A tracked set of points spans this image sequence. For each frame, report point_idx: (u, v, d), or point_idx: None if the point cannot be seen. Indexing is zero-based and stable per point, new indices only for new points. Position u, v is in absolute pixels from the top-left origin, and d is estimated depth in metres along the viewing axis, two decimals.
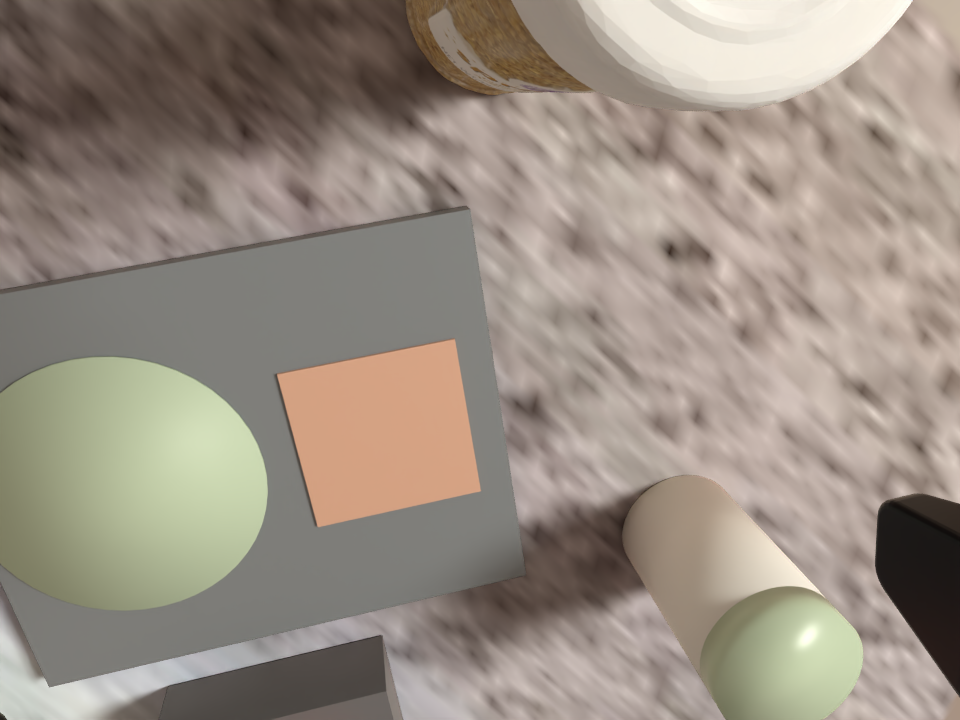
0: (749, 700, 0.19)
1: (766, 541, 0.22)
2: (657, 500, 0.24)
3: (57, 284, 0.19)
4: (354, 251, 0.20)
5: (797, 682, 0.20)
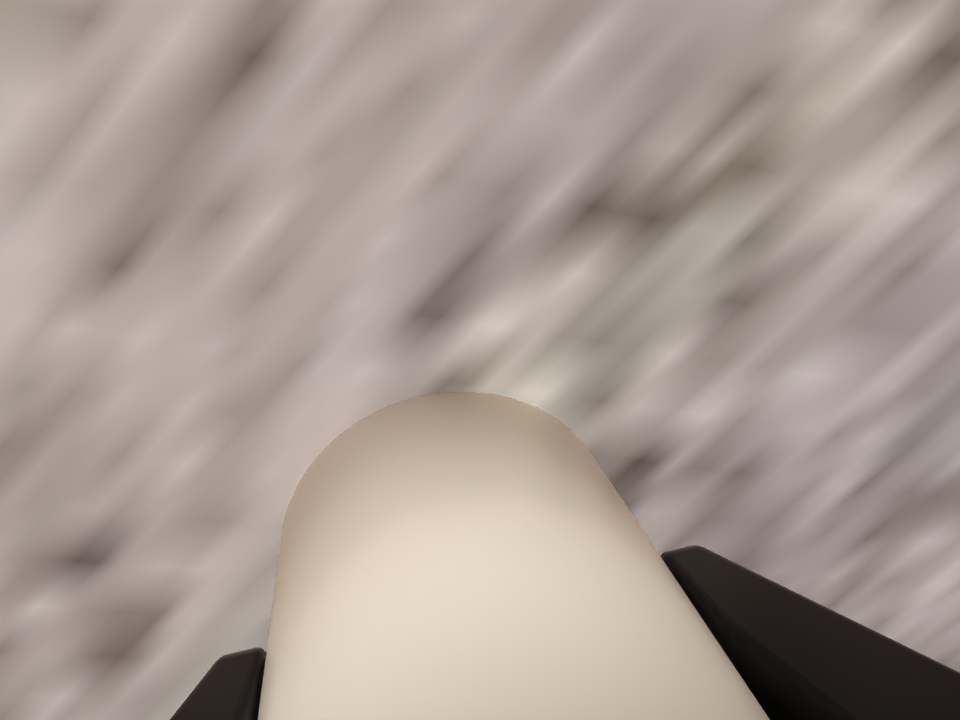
0: None
1: None
2: None
3: None
4: None
5: None
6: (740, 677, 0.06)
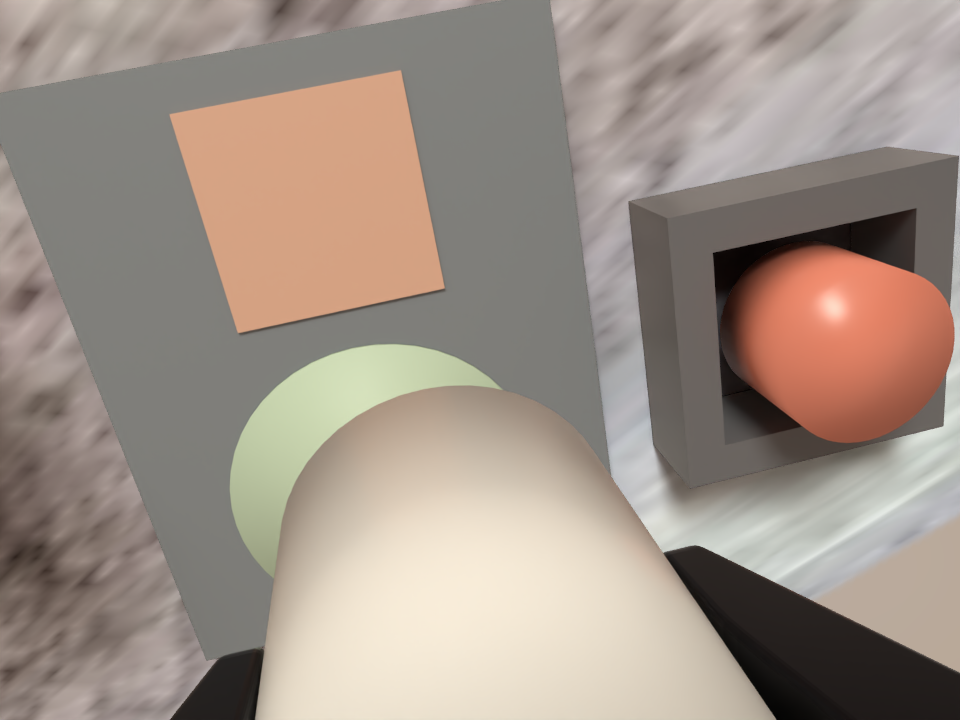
0: None
1: None
2: None
3: (156, 531, 0.20)
4: (68, 244, 0.17)
5: None
6: (740, 668, 0.05)
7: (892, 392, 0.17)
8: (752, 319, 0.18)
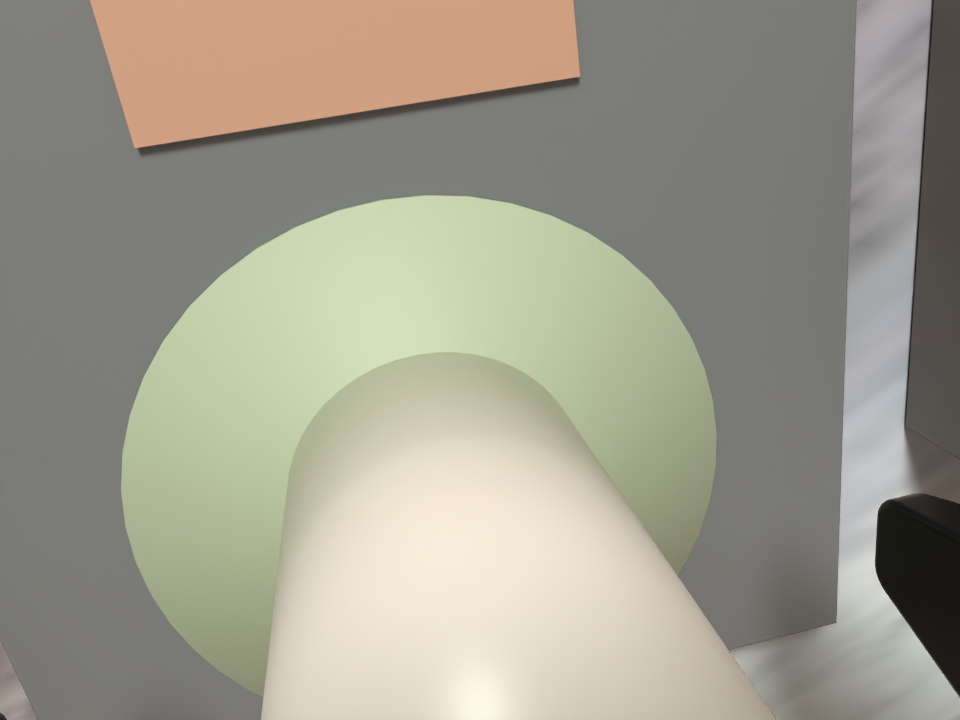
0: None
1: (279, 646, 0.06)
2: None
3: None
4: None
5: None
6: (674, 572, 0.07)
7: None
8: None
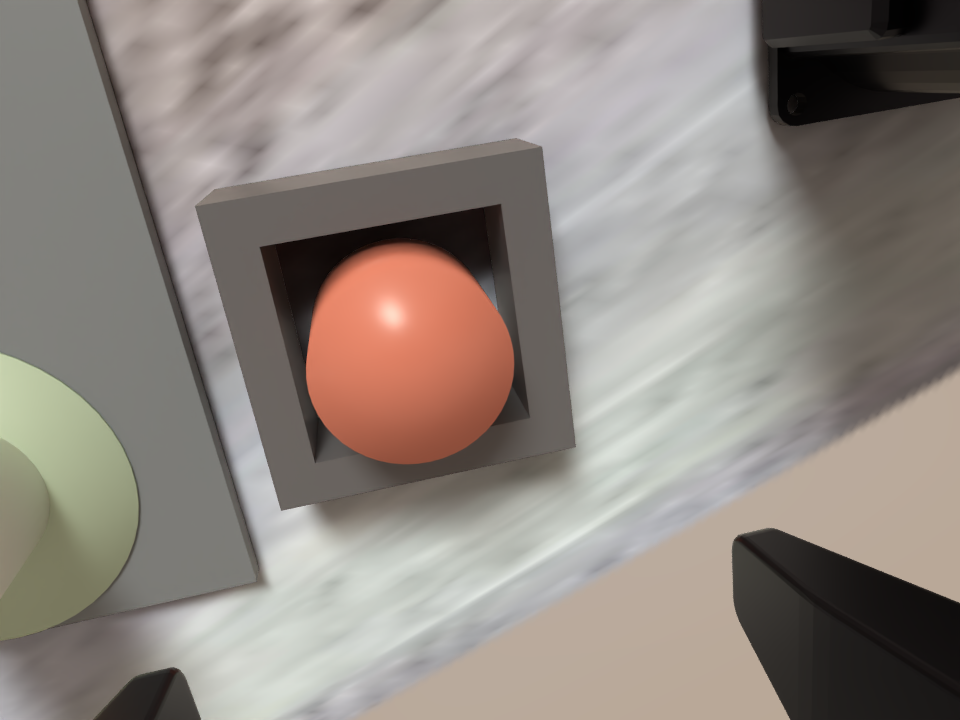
0: None
1: None
2: None
3: None
4: None
5: None
6: None
7: (449, 409, 0.15)
8: (311, 323, 0.16)
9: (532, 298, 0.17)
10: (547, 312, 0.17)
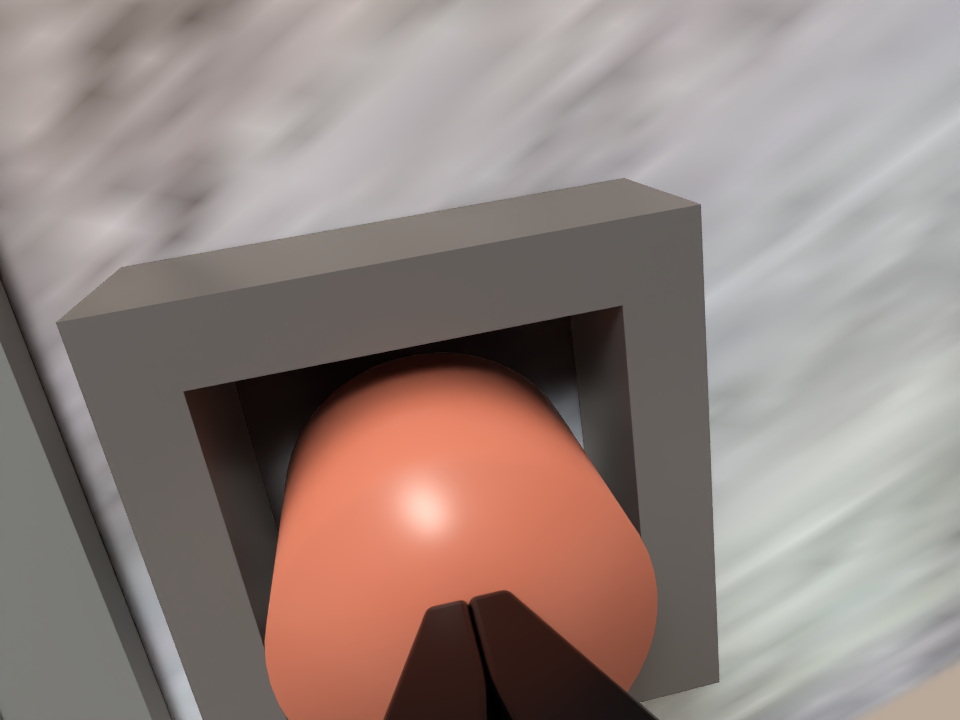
0: None
1: None
2: None
3: None
4: None
5: None
6: None
7: None
8: (281, 519, 0.09)
9: (667, 461, 0.10)
10: (689, 481, 0.10)
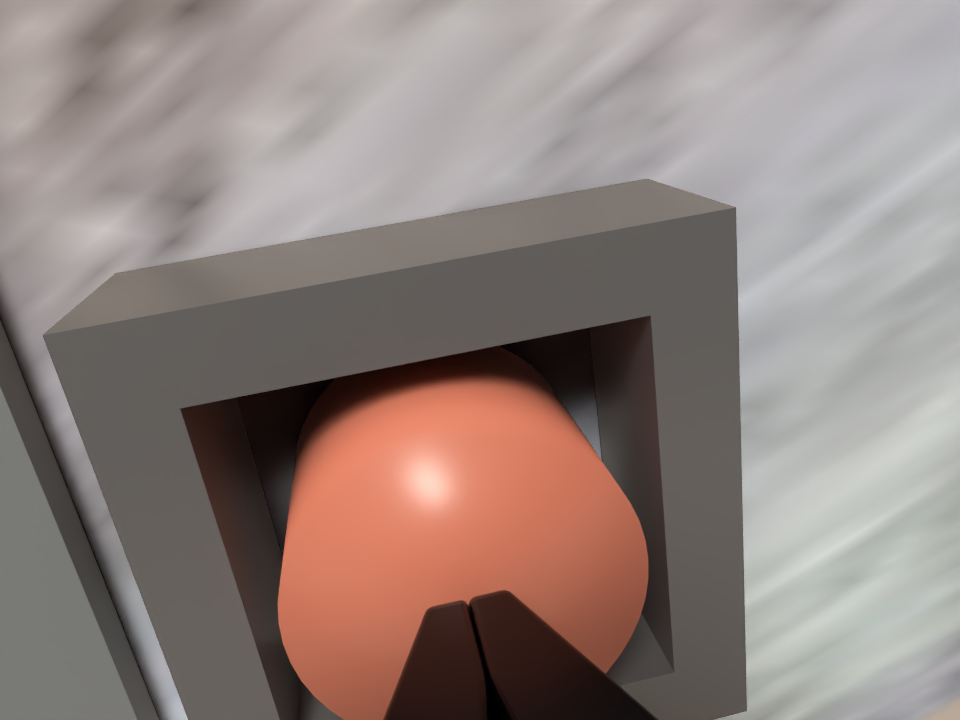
0: None
1: None
2: None
3: None
4: None
5: None
6: None
7: None
8: (292, 492, 0.09)
9: (695, 480, 0.09)
10: (719, 501, 0.09)
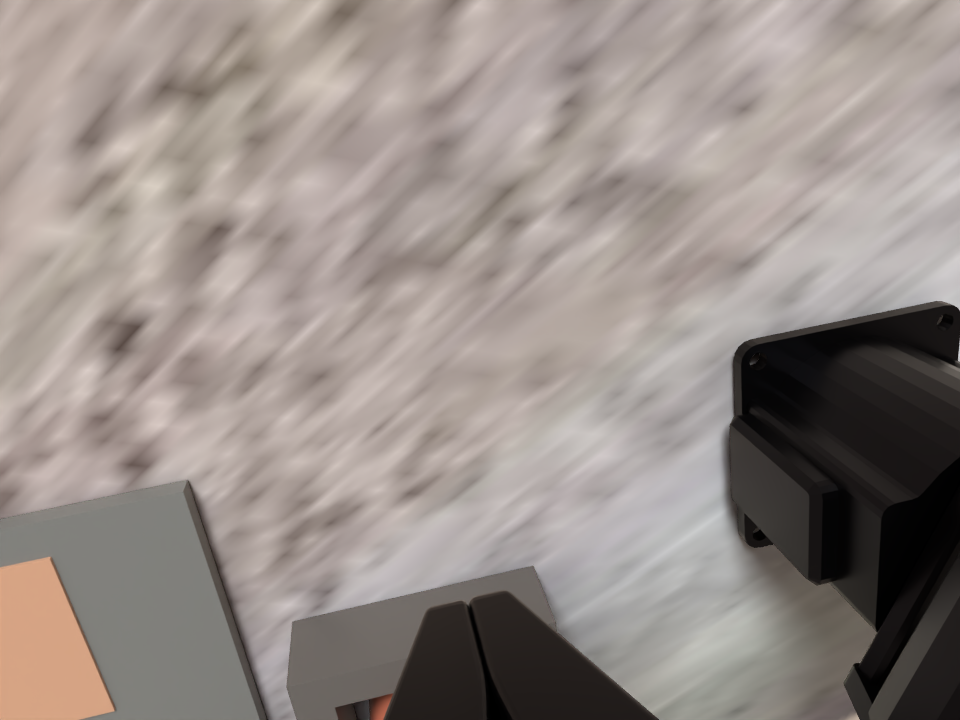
0: None
1: None
2: None
3: None
4: None
5: None
6: None
7: None
8: None
9: None
10: None
